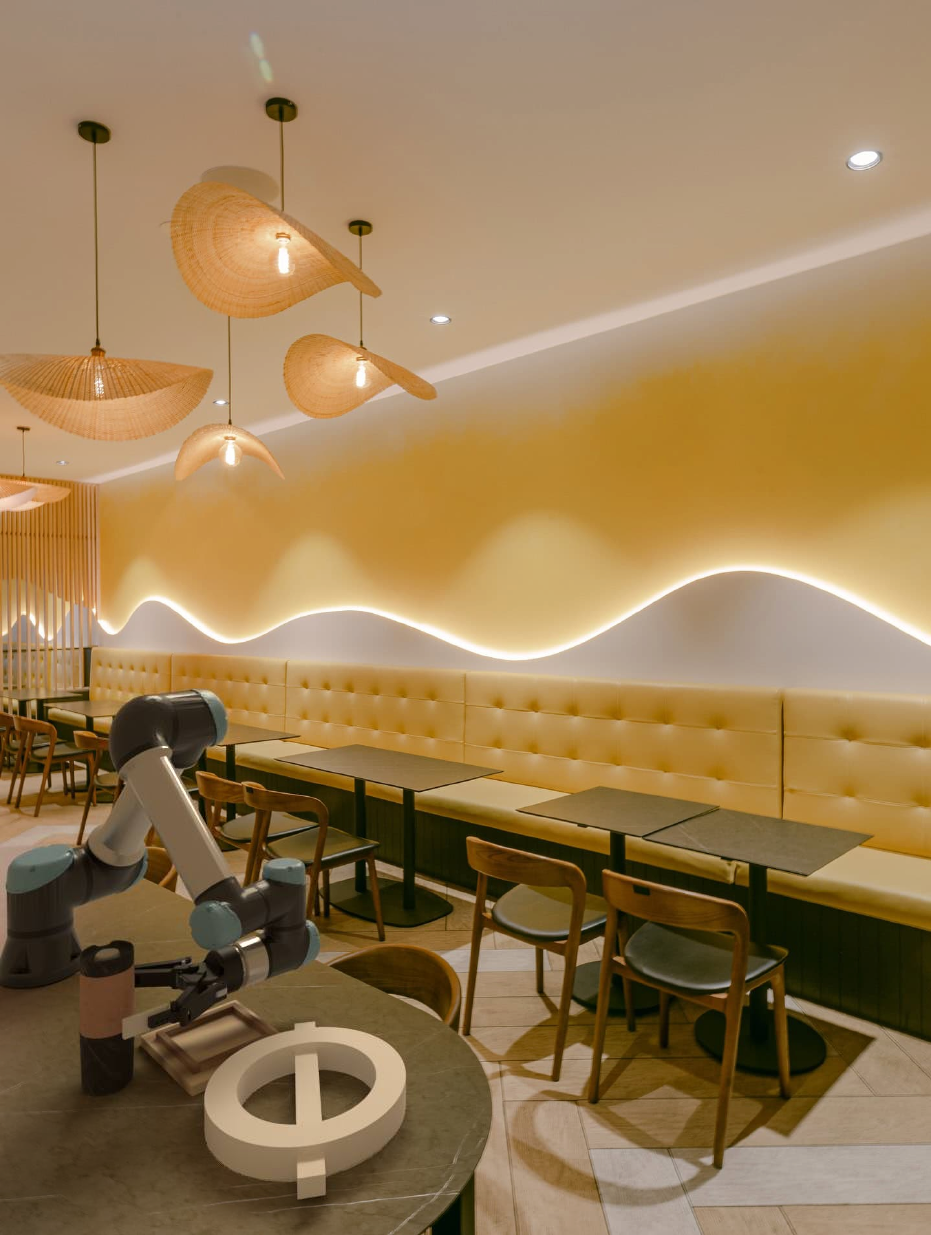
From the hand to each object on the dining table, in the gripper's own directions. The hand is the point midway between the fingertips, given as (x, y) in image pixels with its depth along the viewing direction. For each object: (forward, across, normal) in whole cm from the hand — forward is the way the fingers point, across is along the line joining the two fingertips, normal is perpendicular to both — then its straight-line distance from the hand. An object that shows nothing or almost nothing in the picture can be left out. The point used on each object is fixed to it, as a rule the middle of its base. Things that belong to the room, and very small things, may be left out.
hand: (105, 1012), depth 117 cm
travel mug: (0, 0, -11) cm, 11 cm away
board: (-16, -3, -11) cm, 20 cm away
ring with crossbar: (-18, -27, -12) cm, 34 cm away
